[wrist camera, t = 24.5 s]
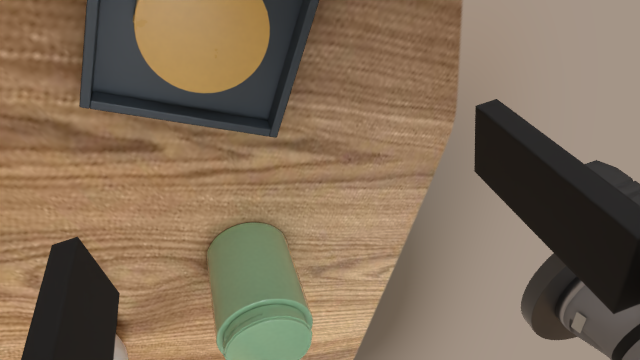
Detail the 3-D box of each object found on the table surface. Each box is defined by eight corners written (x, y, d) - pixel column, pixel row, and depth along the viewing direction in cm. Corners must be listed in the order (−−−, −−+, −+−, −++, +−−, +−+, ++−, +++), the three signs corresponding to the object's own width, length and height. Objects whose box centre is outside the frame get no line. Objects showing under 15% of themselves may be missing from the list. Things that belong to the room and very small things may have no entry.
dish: (325, -55, 30) (334, -49, 28) (271, 125, 36) (276, 138, 35) (99, -133, 25) (96, -131, 23) (83, 94, 31) (79, 107, 29)
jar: (297, 225, 43) (331, 314, 35) (275, 283, 47) (301, 377, 39) (215, 218, 40) (231, 315, 32) (199, 281, 44) (209, 383, 35)
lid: (120, -43, 27) (119, -37, 25) (261, -48, 29) (266, -43, 27) (149, 88, 32) (148, 100, 30) (267, 76, 33) (272, 86, 32)
